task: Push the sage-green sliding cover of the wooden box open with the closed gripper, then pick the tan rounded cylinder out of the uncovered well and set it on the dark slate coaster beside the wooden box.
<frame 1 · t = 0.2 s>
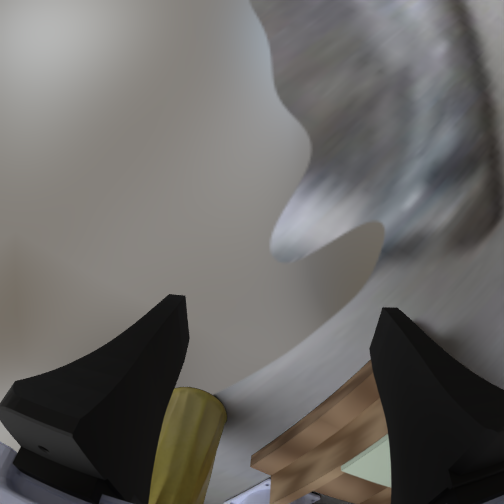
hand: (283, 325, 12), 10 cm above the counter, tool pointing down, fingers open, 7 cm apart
vase: (194, 408, 27), on the counter
cover: (435, 464, 20), point 6 cm above the counter, slide at 0.0 cm
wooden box: (390, 439, 26), on the counter
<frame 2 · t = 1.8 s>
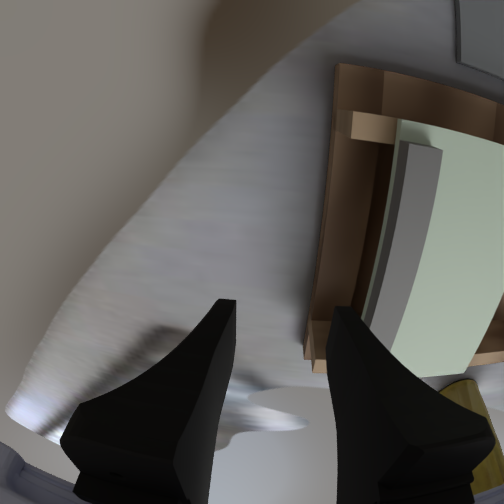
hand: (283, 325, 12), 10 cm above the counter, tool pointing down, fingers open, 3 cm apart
vase: (452, 396, 28), on the counter
cover: (453, 282, 14), point 6 cm above the counter, slide at 0.0 cm
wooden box: (454, 238, 20), on the counter
coaster: (500, 28, 13), on the counter
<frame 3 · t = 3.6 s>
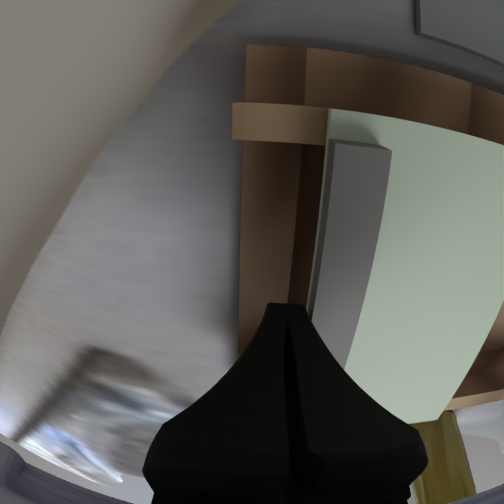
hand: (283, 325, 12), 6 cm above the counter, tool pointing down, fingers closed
vase: (426, 427, 25), on the counter
cover: (417, 327, 11), point 6 cm above the counter, slide at 0.9 cm, touching gripper
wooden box: (419, 258, 17), on the counter
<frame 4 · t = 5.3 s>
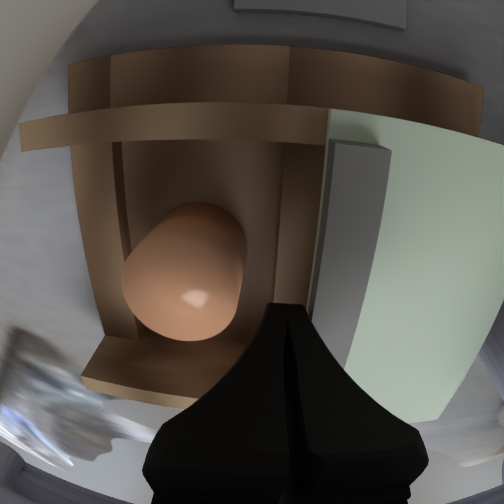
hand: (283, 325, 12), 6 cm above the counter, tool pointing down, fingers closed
cover: (417, 326, 11), point 6 cm above the counter, slide at 9.6 cm, touching gripper
tan rounded cylinder: (200, 247, 17), resting on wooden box
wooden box: (267, 248, 17), on the counter
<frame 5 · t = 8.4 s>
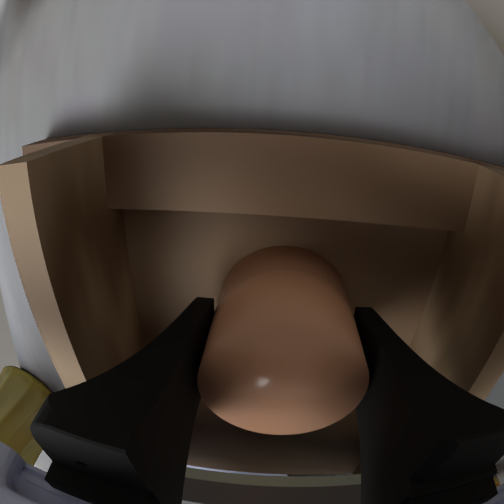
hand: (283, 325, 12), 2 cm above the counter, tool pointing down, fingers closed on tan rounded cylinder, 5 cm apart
vase: (33, 391, 19), on the counter
tan rounded cylinder: (283, 303, 13), resting on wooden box, touching gripper
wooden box: (276, 358, 15), on the counter
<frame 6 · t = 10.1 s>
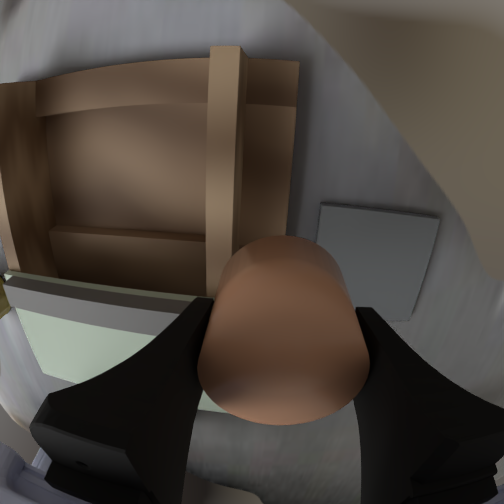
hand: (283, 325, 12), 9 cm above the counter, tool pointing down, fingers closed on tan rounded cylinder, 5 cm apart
cover: (107, 353, 18), point 6 cm above the counter, slide at 9.6 cm
tan rounded cylinder: (281, 293, 13), point 8 cm above the counter, touching gripper
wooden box: (130, 220, 20), on the counter
coaster: (370, 266, 21), on the counter
when the fingers open (3 cm above the counter, at t = 12.1 s): tan rounded cylinder drops 1 cm, resting on coaster.
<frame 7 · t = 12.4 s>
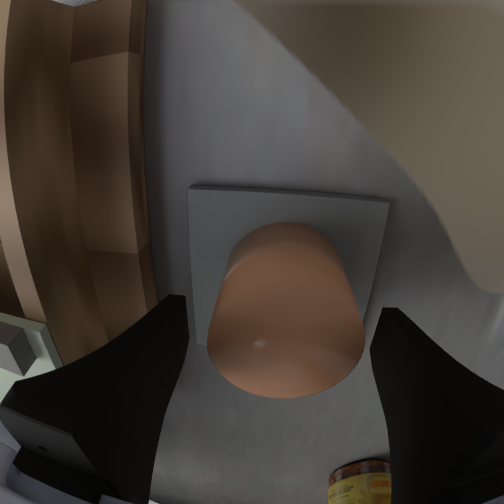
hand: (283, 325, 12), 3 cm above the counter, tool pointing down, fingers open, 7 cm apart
tan rounded cylinder: (284, 277, 14), point 1 cm above the counter, touching coaster
sauce bottle: (359, 468, 23), on the counter
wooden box: (0, 222, 14), on the counter
coaster: (282, 277, 15), on the counter
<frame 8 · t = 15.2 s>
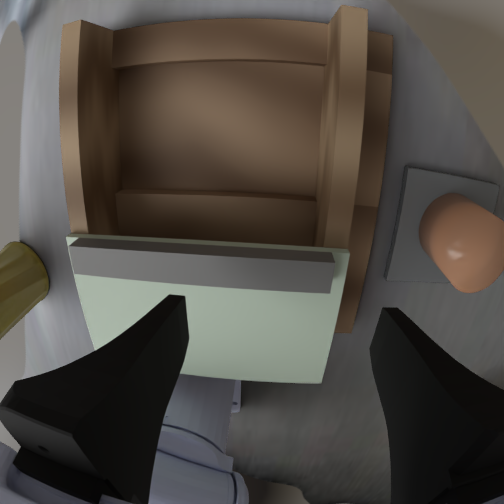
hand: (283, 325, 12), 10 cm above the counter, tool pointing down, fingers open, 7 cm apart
vase: (26, 270, 24), on the counter
cover: (197, 323, 17), point 6 cm above the counter, slide at 9.6 cm
tan rounded cylinder: (449, 227, 19), point 1 cm above the counter, touching coaster
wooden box: (214, 181, 20), on the counter
coaster: (443, 229, 20), on the counter
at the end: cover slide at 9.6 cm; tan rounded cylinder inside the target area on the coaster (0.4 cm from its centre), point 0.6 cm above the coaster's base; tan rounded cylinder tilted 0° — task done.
